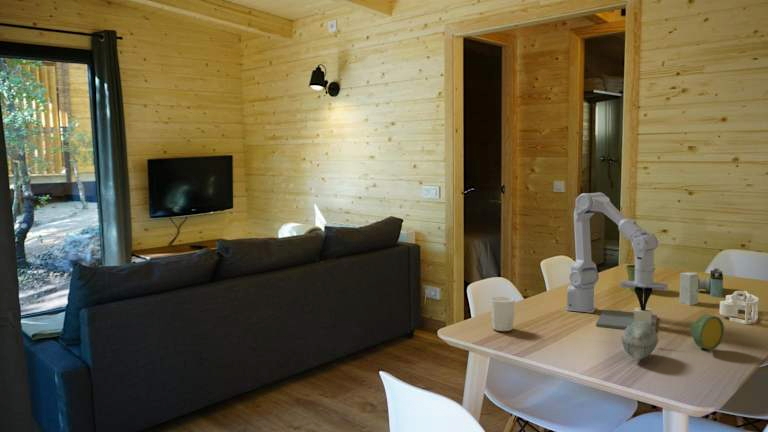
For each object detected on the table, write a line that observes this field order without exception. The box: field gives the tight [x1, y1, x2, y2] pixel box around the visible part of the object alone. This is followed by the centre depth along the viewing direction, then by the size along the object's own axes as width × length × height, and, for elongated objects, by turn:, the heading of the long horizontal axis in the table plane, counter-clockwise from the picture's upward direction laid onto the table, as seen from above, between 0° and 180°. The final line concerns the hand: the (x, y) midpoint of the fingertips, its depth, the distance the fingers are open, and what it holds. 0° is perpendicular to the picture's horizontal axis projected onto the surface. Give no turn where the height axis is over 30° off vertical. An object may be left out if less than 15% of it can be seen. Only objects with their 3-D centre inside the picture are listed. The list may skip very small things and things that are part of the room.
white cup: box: [490, 296, 516, 332], centre depth 194 cm, size 8×8×10 cm
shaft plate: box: [595, 309, 658, 331], centre depth 200 cm, size 18×20×4 cm
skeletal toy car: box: [719, 290, 760, 325], centre depth 205 cm, size 20×11×7 cm, turn 140°
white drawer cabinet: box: [633, 306, 653, 324], centre depth 195 cm, size 5×5×5 cm
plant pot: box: [624, 264, 657, 294], centre depth 241 cm, size 12×12×11 cm
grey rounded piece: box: [621, 321, 659, 360], centre depth 166 cm, size 14×10×10 cm
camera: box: [698, 267, 724, 298], centre depth 238 cm, size 16×10×10 cm, turn 151°
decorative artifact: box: [689, 314, 725, 351], centre depth 173 cm, size 10×7×10 cm
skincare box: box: [678, 271, 699, 307], centre depth 222 cm, size 6×4×12 cm
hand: (643, 309), depth 195 cm, fingers closed, pressing on white drawer cabinet
